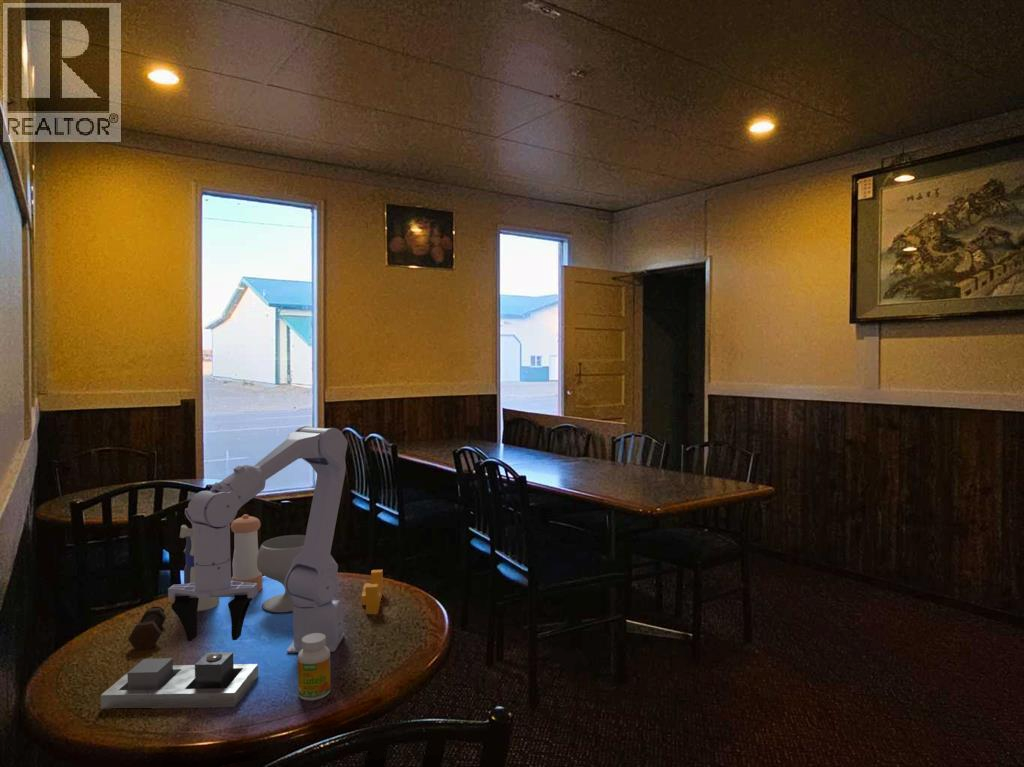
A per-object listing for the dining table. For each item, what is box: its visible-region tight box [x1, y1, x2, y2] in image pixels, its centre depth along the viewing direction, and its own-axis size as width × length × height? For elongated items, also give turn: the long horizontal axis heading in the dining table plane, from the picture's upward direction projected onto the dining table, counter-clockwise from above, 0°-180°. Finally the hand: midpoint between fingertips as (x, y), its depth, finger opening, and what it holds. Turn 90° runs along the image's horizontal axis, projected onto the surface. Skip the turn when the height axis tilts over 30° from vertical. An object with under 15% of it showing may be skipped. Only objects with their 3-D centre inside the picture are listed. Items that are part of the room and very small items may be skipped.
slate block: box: [126, 657, 174, 690], centre depth 109 cm, size 5×5×5 cm
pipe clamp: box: [360, 569, 384, 614], centre depth 148 cm, size 12×4×6 cm, turn 6°
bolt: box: [128, 606, 167, 651], centre depth 133 cm, size 6×5×15 cm
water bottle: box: [179, 524, 221, 612], centre depth 148 cm, size 8×9×25 cm
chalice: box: [257, 534, 314, 613], centre depth 149 cm, size 14×14×15 cm
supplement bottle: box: [297, 633, 332, 701], centre depth 108 cm, size 5×5×10 cm
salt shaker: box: [230, 513, 263, 592], centre depth 158 cm, size 7×7×19 cm
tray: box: [100, 663, 259, 710], centre depth 109 cm, size 22×10×2 cm, turn 91°
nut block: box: [194, 651, 234, 689], centre depth 109 cm, size 4×4×6 cm
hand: (214, 638), depth 109 cm, fingers open, 7 cm apart
